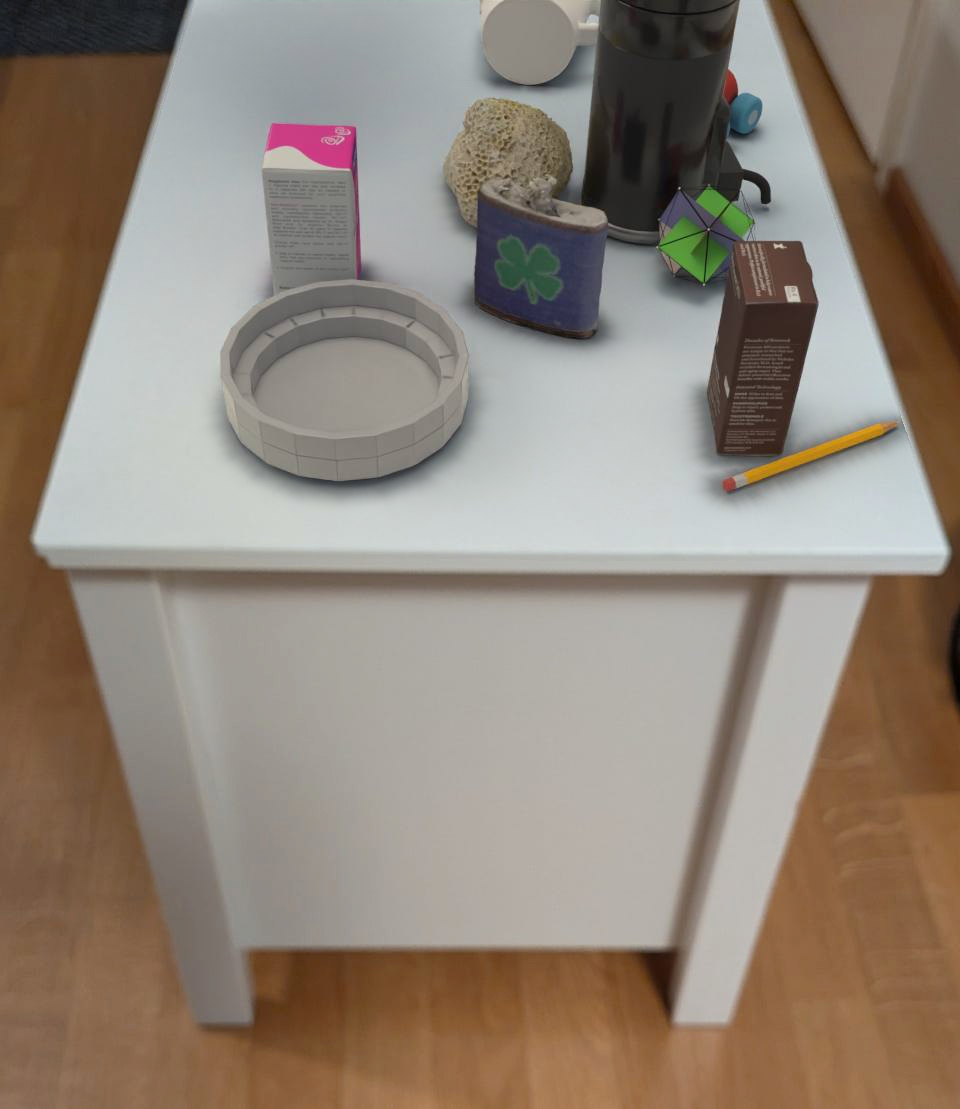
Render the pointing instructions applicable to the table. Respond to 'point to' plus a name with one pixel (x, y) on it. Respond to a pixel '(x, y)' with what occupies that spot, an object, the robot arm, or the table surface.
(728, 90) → the toy car
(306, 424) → the bowl
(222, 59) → the table surface
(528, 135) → the decorative item
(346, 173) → the supplement box
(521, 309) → the flask
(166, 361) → the table surface
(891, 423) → the pencil
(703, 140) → the robot arm
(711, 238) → the geometric puzzle
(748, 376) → the box
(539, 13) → the mug
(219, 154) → the table surface
